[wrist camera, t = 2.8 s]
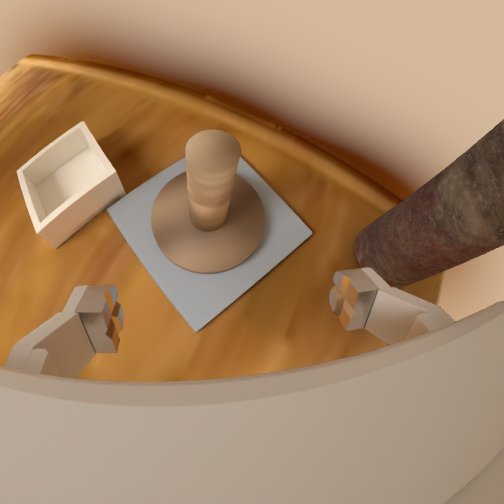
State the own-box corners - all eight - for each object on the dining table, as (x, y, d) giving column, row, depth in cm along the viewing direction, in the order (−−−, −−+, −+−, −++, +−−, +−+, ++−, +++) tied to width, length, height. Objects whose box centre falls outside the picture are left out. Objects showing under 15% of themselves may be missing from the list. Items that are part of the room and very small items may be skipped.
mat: (108, 212, 23) (106, 209, 23) (220, 140, 28) (220, 137, 27) (195, 332, 22) (195, 332, 21) (310, 235, 26) (312, 232, 26)
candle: (401, 229, 29) (530, 137, 10) (410, 290, 26) (566, 226, 8) (348, 223, 27) (487, 94, 9) (356, 292, 25) (543, 207, 6)
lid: (132, 211, 23) (101, 143, 14) (216, 156, 26) (227, 79, 17) (198, 298, 22) (195, 269, 13) (284, 228, 25) (329, 168, 16)
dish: (32, 189, 22) (16, 171, 19) (93, 143, 25) (83, 120, 21) (56, 248, 21) (36, 233, 17) (126, 193, 24) (116, 171, 20)
